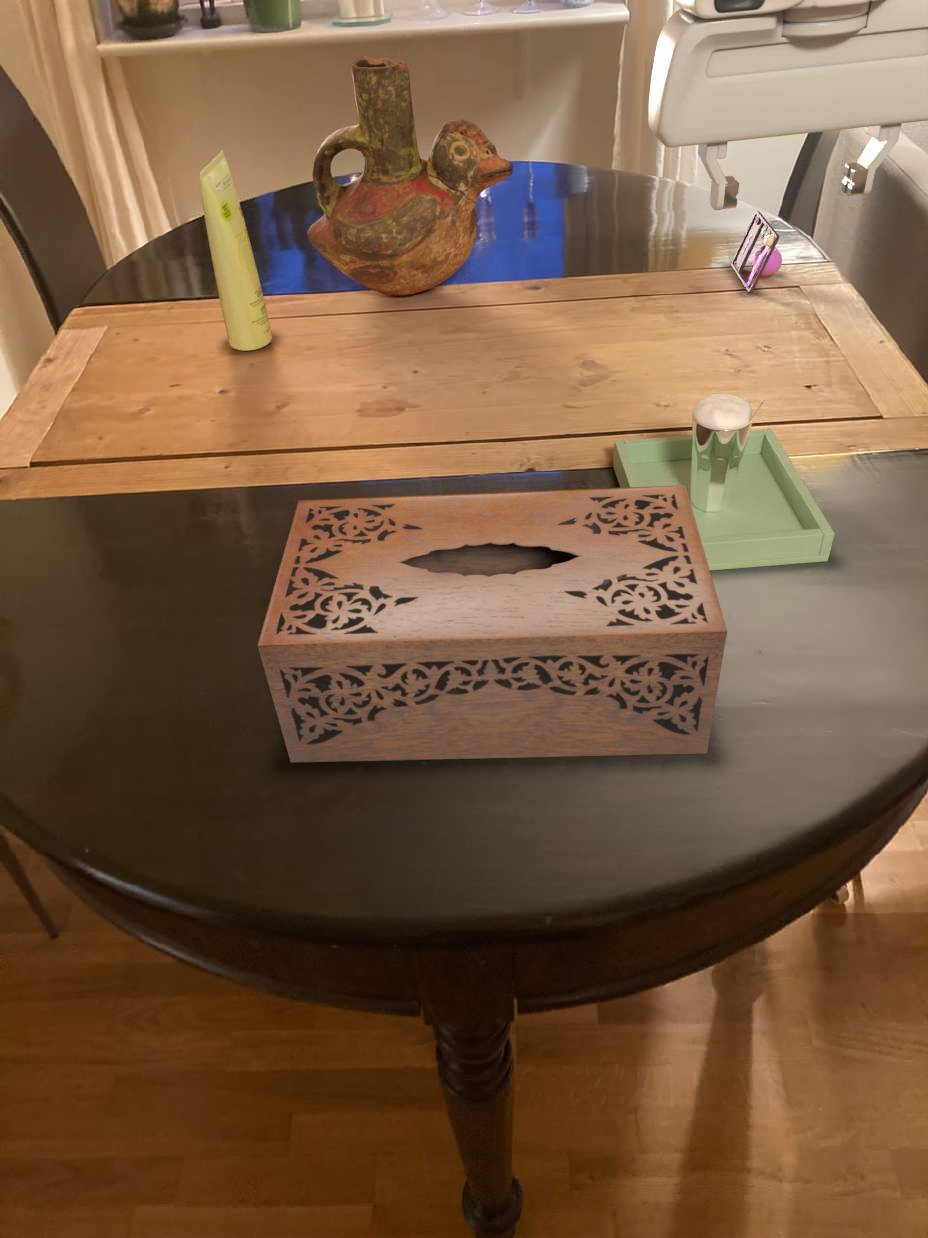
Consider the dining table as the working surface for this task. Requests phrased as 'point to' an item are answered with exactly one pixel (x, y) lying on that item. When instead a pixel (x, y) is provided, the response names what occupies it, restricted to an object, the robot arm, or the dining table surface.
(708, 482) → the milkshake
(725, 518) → the tray
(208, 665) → the dining table surface
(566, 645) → the tissue box cover
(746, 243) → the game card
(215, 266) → the tube
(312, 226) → the ceramic vessel
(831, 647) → the dining table surface
